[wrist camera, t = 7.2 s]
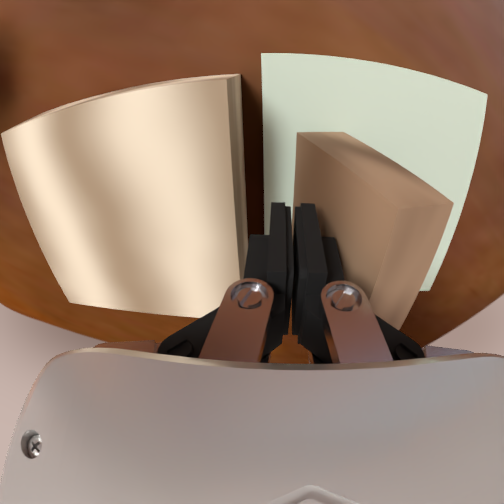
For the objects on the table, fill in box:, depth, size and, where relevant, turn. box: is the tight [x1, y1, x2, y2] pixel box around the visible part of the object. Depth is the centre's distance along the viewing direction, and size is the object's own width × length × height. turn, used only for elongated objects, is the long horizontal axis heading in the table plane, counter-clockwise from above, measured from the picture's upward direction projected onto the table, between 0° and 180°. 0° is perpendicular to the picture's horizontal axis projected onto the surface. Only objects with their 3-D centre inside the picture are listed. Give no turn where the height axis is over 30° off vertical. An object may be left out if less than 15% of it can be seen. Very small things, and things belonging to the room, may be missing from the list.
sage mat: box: [261, 53, 487, 291], centre depth 14 cm, size 12×14×1 cm
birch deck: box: [1, 74, 248, 318], centre depth 14 cm, size 12×12×4 cm
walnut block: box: [292, 132, 454, 330], centre depth 12 cm, size 7×7×2 cm
